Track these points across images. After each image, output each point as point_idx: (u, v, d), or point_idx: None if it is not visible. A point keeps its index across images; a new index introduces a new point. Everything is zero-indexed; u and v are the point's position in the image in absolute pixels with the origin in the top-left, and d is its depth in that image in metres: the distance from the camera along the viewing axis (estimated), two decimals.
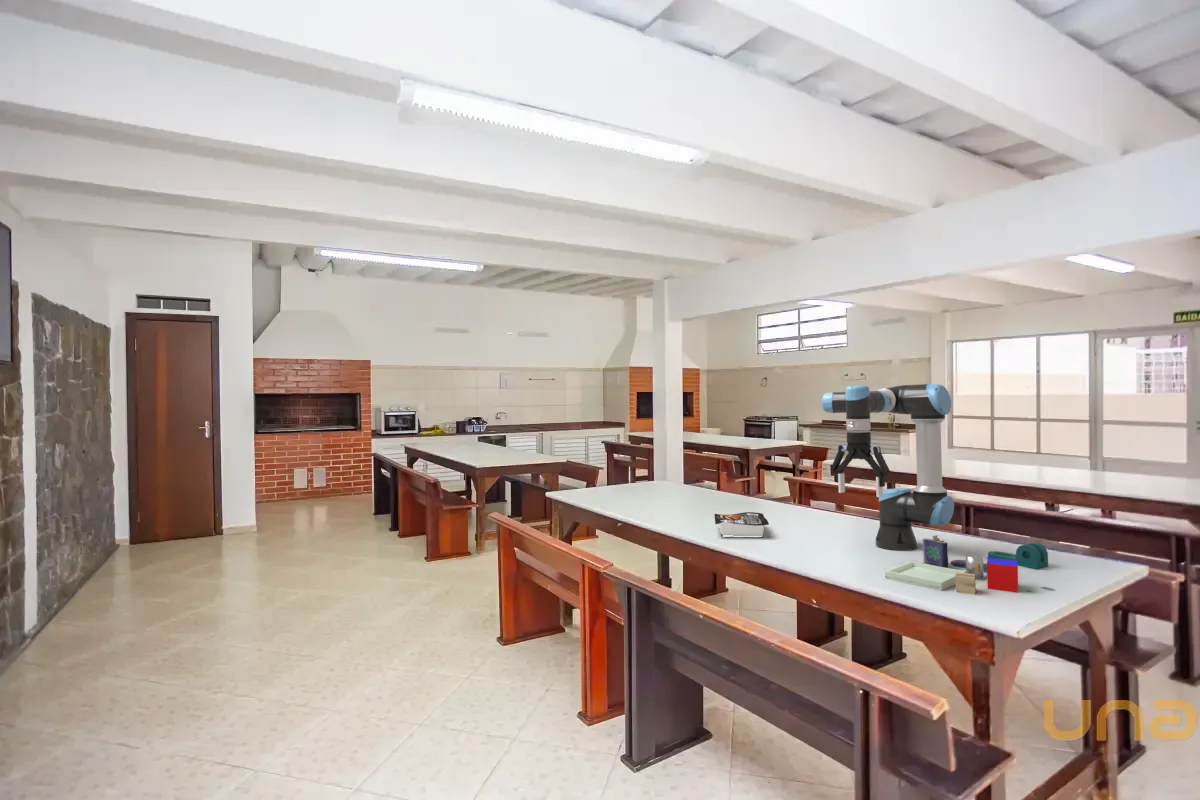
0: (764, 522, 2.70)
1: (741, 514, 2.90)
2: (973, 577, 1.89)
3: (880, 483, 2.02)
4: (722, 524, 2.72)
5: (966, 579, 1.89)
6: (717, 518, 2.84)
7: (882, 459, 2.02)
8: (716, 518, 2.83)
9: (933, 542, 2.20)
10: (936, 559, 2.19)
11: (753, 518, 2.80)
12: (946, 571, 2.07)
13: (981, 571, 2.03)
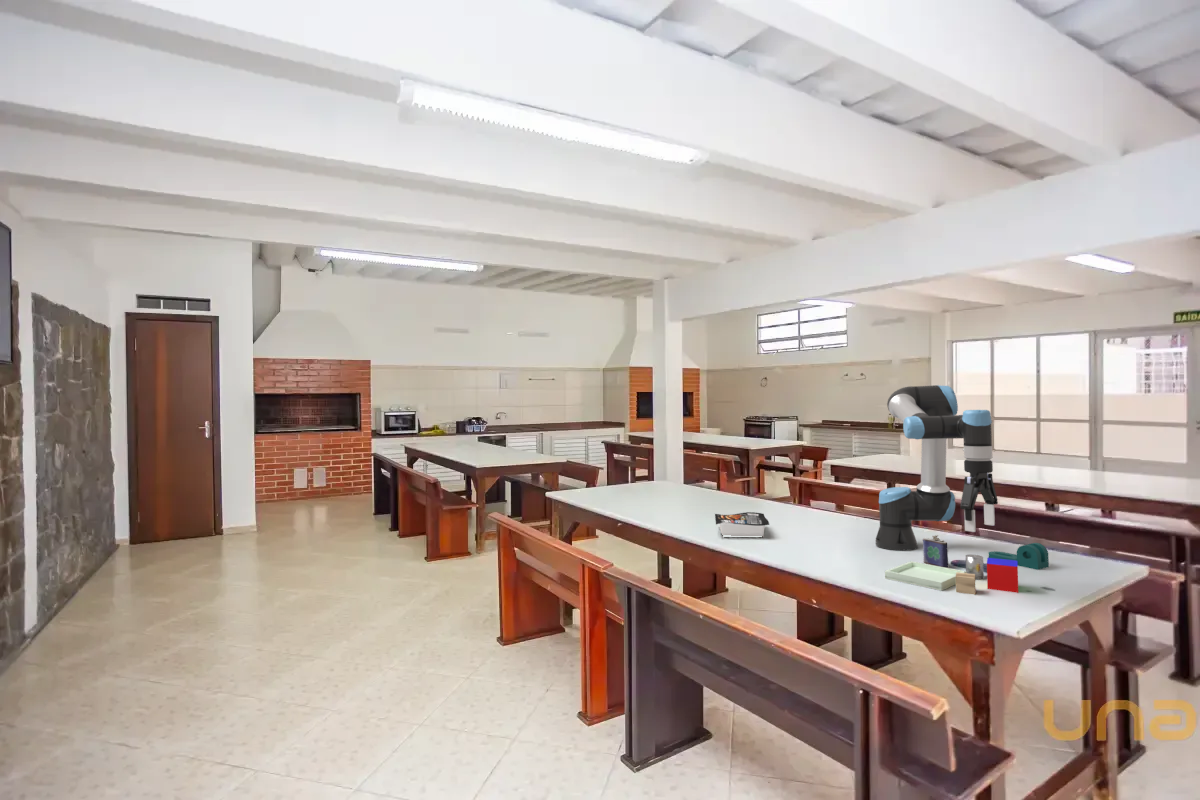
0: (765, 522, 2.70)
1: (742, 514, 2.90)
2: (973, 577, 1.89)
3: None
4: (722, 524, 2.71)
5: (966, 579, 1.89)
6: (718, 518, 2.83)
7: (967, 491, 1.87)
8: (716, 518, 2.83)
9: (933, 542, 2.20)
10: (936, 559, 2.19)
11: (754, 518, 2.80)
12: (946, 571, 2.07)
13: (981, 571, 2.03)
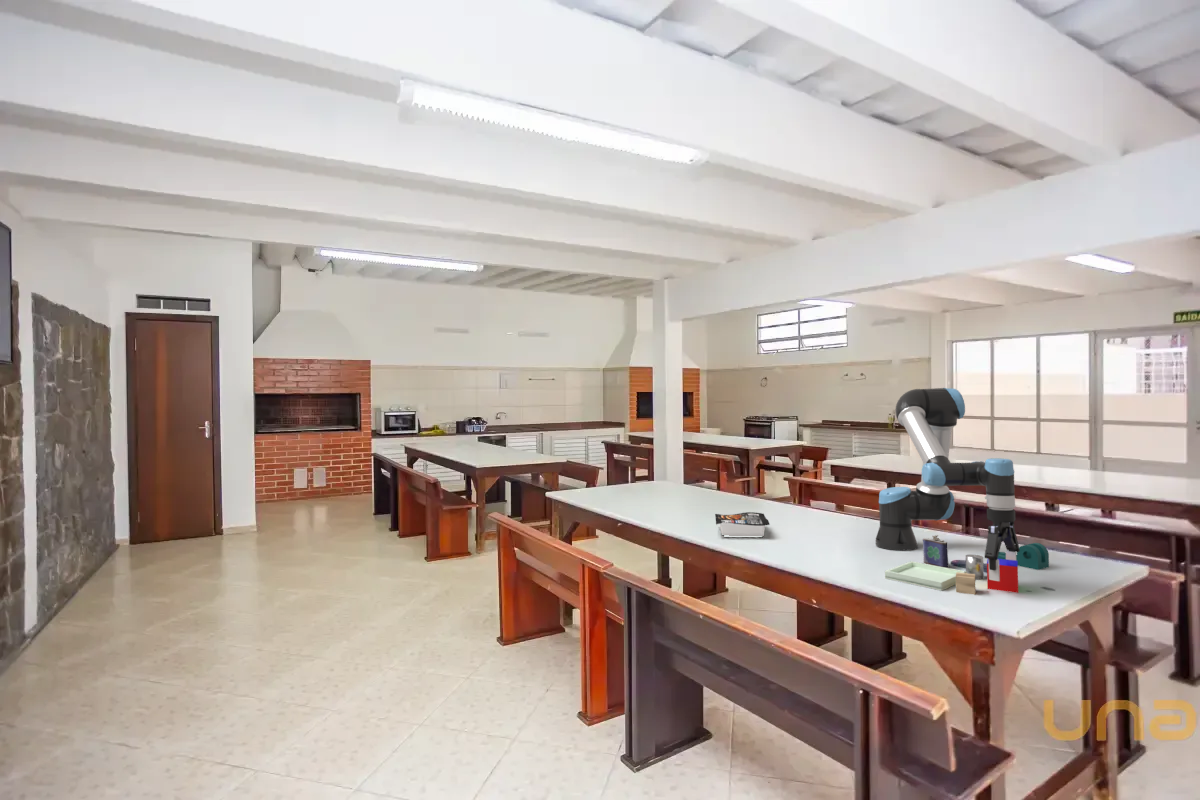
0: (765, 522, 2.70)
1: (742, 514, 2.90)
2: (973, 577, 1.89)
3: None
4: (722, 524, 2.71)
5: (966, 579, 1.89)
6: (718, 518, 2.83)
7: (991, 540, 1.89)
8: (717, 518, 2.83)
9: (933, 542, 2.20)
10: (936, 559, 2.19)
11: (754, 518, 2.80)
12: (946, 571, 2.07)
13: (981, 571, 2.03)
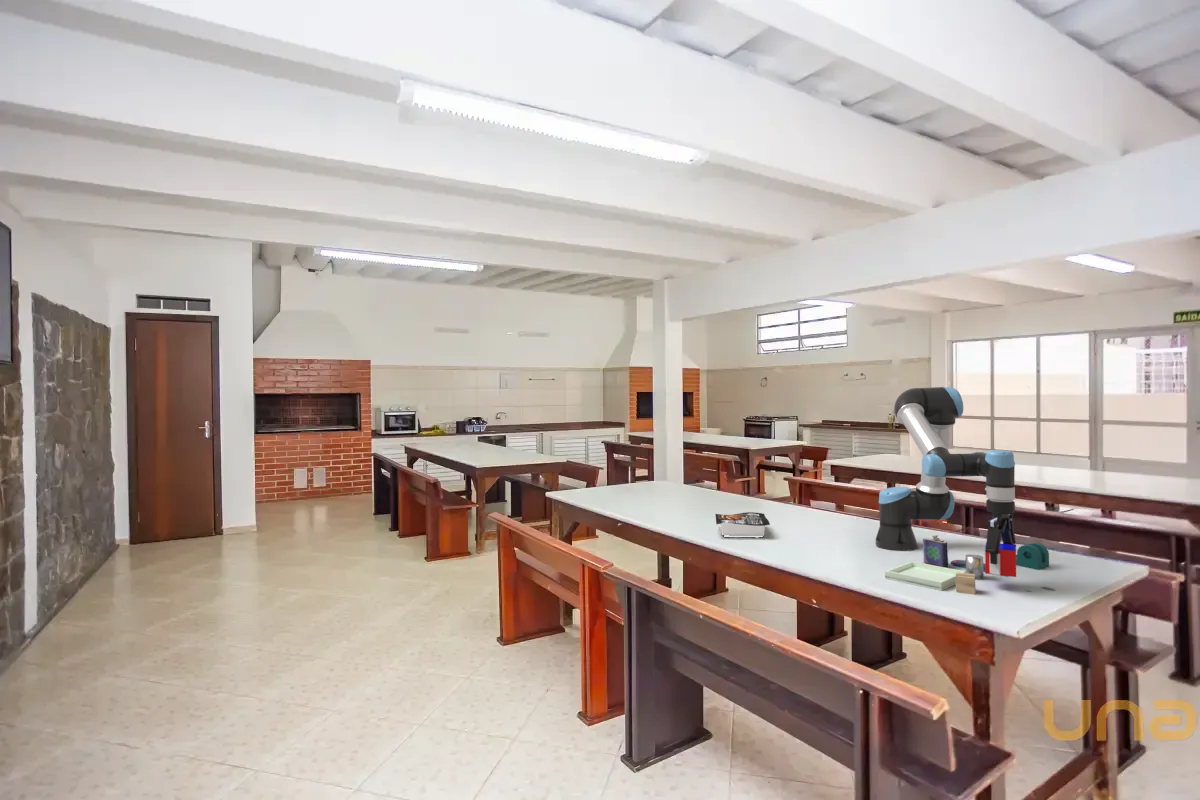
0: (765, 522, 2.70)
1: (742, 514, 2.89)
2: (973, 577, 1.89)
3: None
4: (723, 524, 2.71)
5: (966, 579, 1.89)
6: (718, 518, 2.83)
7: (991, 535, 1.90)
8: (717, 518, 2.83)
9: (933, 542, 2.20)
10: (936, 559, 2.19)
11: (754, 518, 2.80)
12: (946, 571, 2.07)
13: (981, 571, 2.03)
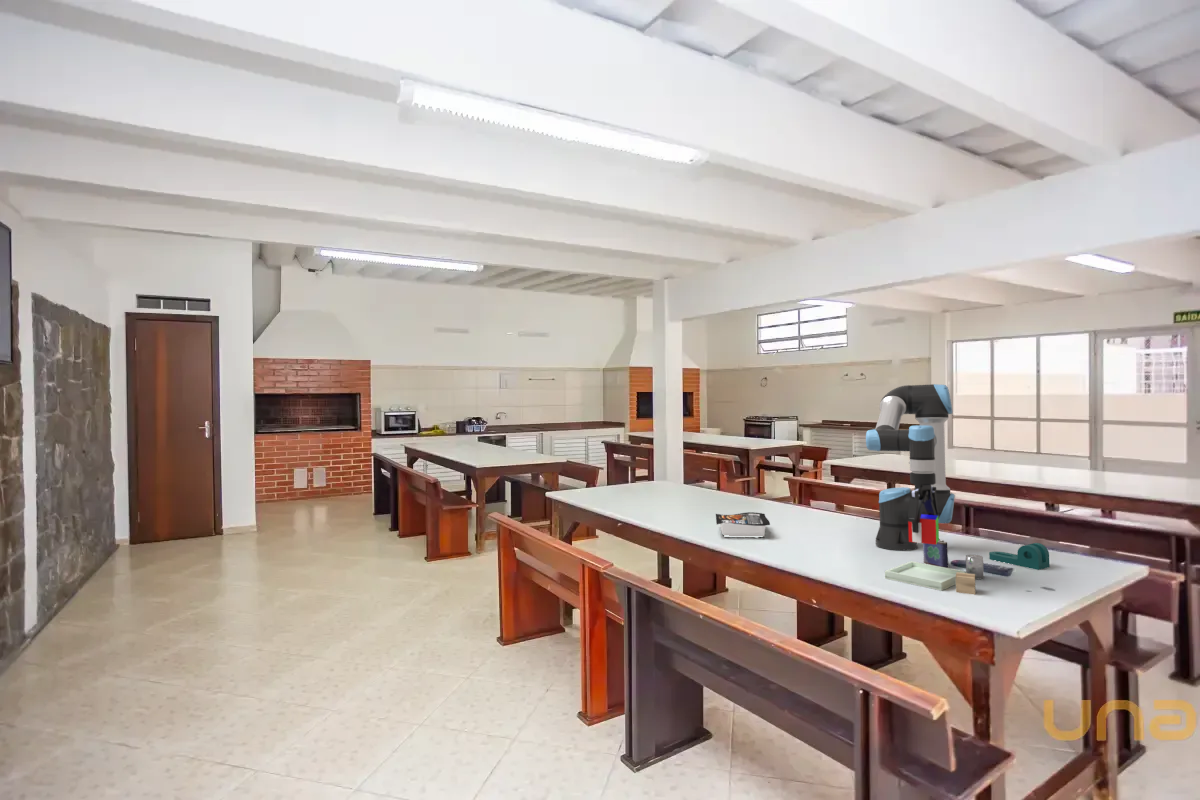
0: (765, 522, 2.70)
1: (742, 514, 2.89)
2: (973, 577, 1.89)
3: None
4: (723, 524, 2.71)
5: (966, 579, 1.89)
6: (719, 518, 2.83)
7: (913, 504, 2.01)
8: (717, 518, 2.83)
9: None
10: (936, 559, 2.19)
11: (754, 518, 2.80)
12: (946, 571, 2.07)
13: (981, 571, 2.03)
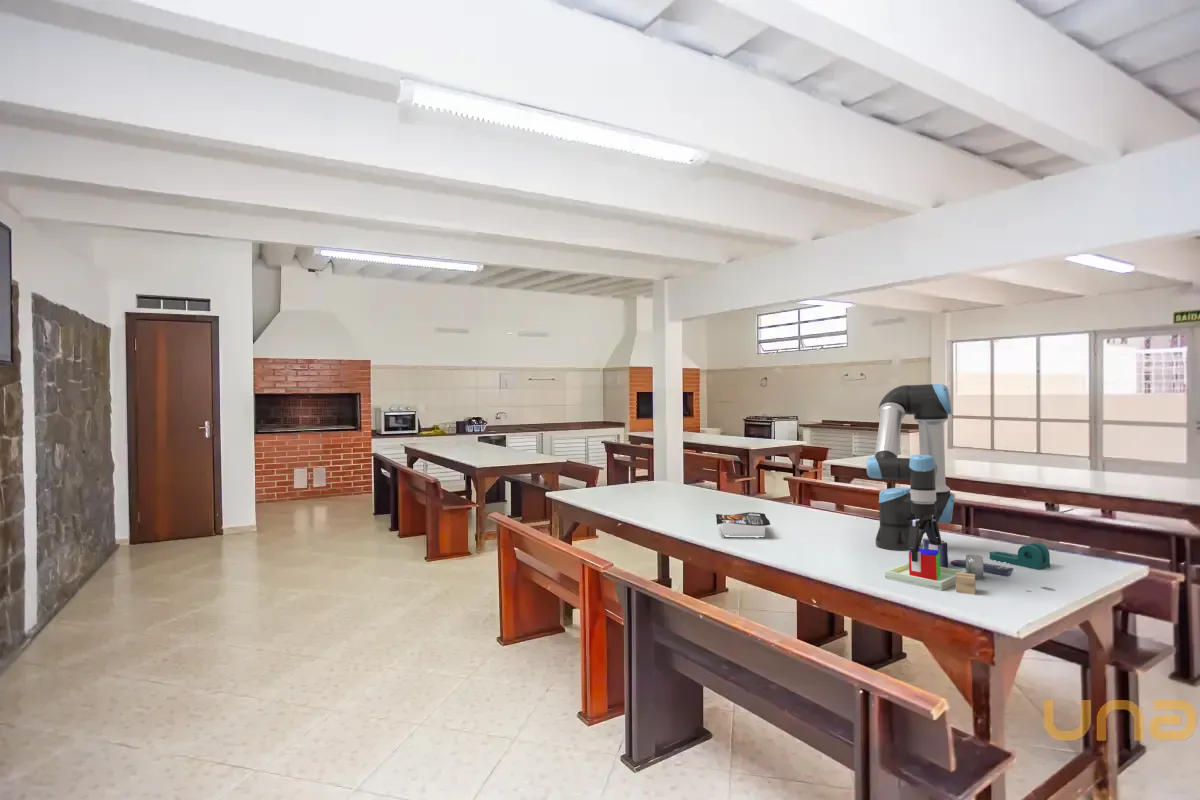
0: (766, 522, 2.70)
1: (743, 514, 2.89)
2: (973, 577, 1.89)
3: None
4: (723, 524, 2.71)
5: (966, 579, 1.89)
6: (719, 518, 2.83)
7: (913, 534, 2.00)
8: (718, 518, 2.83)
9: None
10: None
11: (755, 518, 2.80)
12: (946, 571, 2.07)
13: (981, 571, 2.03)
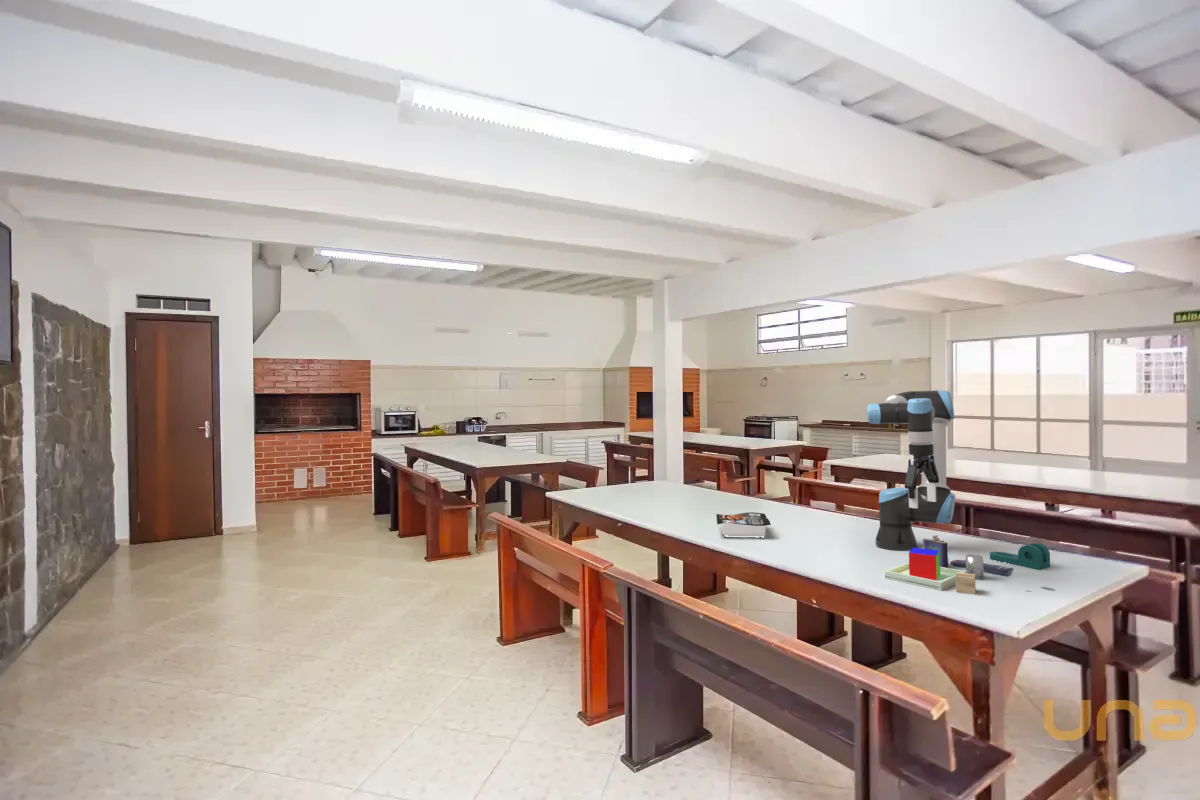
0: (766, 522, 2.70)
1: (743, 514, 2.89)
2: (973, 577, 1.89)
3: None
4: (723, 524, 2.71)
5: (966, 579, 1.89)
6: (719, 518, 2.83)
7: (910, 472, 2.09)
8: (718, 518, 2.83)
9: (933, 542, 2.20)
10: None
11: (755, 518, 2.80)
12: (946, 571, 2.07)
13: (981, 571, 2.03)
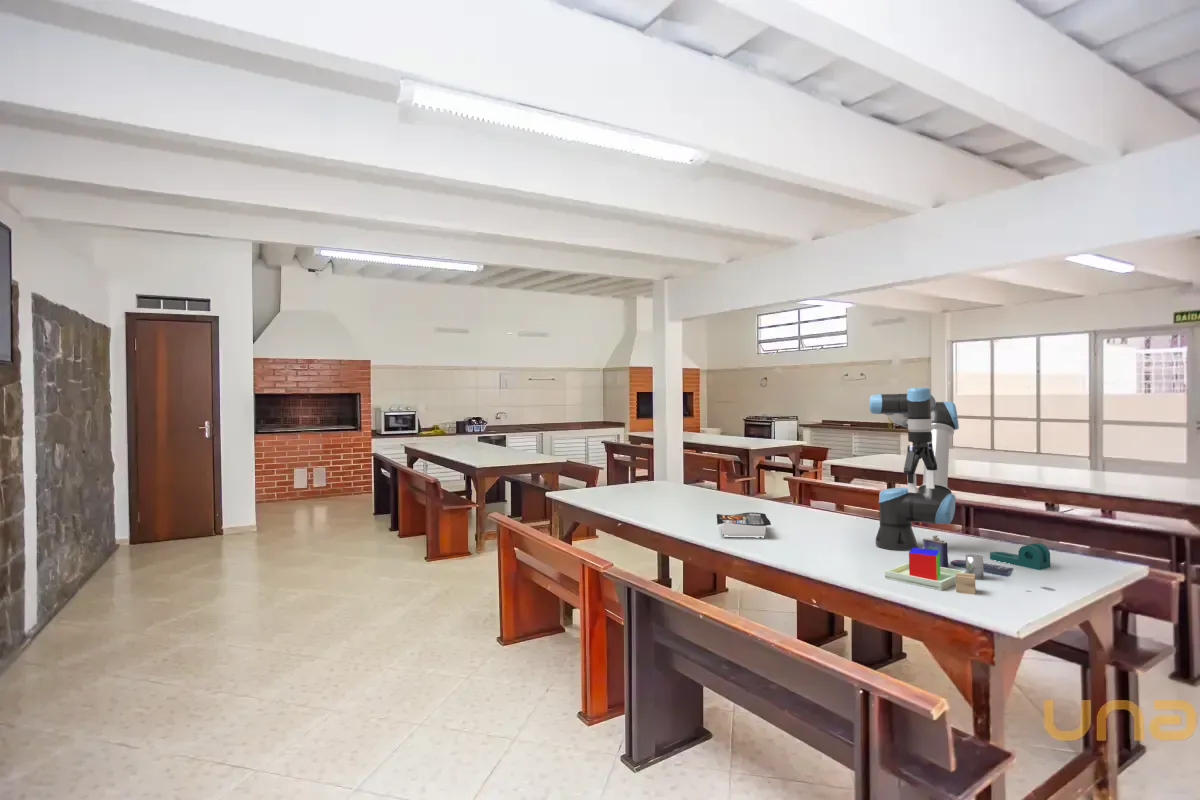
0: (766, 522, 2.70)
1: (743, 514, 2.89)
2: (973, 577, 1.89)
3: None
4: (724, 524, 2.71)
5: (966, 579, 1.89)
6: (720, 518, 2.83)
7: (909, 457, 2.16)
8: (718, 518, 2.83)
9: (933, 542, 2.20)
10: None
11: (755, 518, 2.79)
12: (946, 571, 2.07)
13: (981, 571, 2.03)
